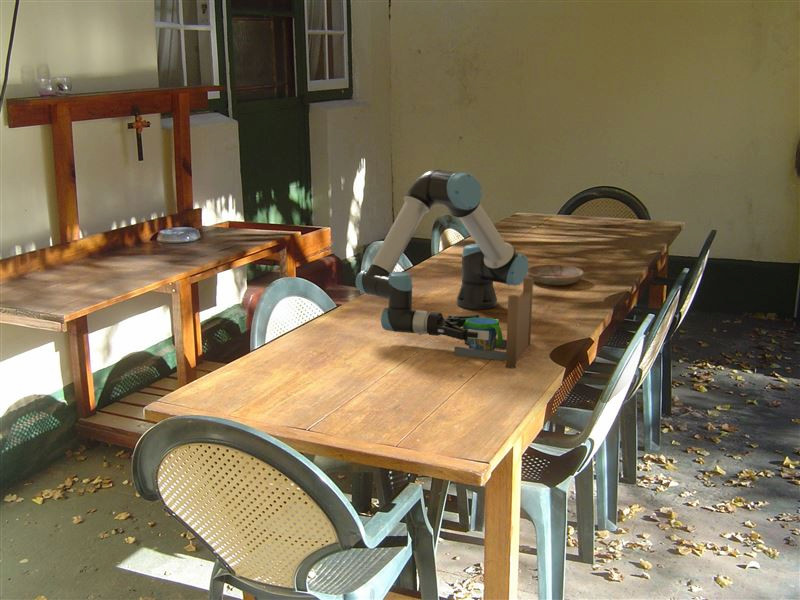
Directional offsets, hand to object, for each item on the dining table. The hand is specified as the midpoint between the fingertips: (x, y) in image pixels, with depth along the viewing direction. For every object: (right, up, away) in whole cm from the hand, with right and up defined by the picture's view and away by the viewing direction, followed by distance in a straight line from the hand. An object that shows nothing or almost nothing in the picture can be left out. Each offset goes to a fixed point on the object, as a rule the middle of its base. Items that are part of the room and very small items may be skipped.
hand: (493, 329), depth 293 cm
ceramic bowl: (+34, +16, +92) cm, 99 cm away
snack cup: (-4, -7, +1) cm, 8 cm away
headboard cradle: (-1, -7, +2) cm, 8 cm away
